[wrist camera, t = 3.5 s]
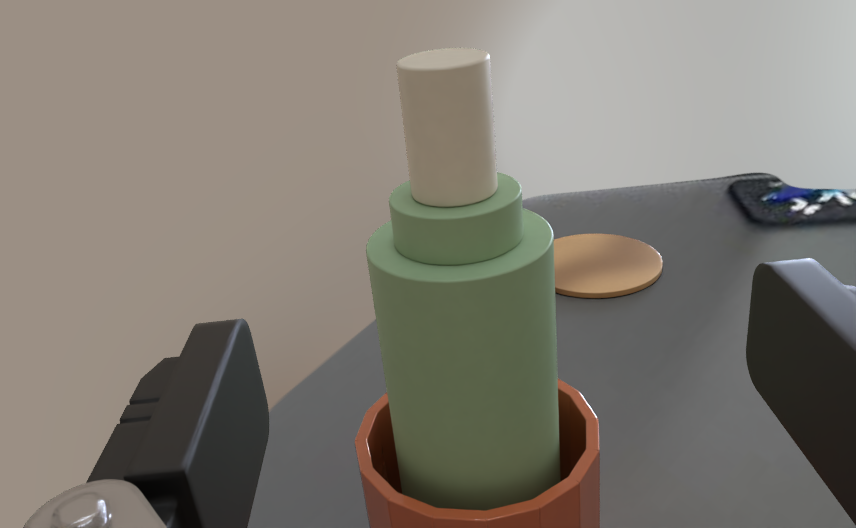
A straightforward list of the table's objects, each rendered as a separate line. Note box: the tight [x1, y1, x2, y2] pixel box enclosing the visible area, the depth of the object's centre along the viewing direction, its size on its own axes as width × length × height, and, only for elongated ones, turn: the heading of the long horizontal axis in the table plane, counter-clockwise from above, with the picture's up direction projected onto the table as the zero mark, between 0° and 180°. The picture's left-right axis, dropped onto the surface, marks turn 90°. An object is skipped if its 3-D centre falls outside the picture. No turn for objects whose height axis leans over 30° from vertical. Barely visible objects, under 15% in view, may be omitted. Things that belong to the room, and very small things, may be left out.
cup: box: [355, 379, 600, 528], centre depth 28 cm, size 8×8×7 cm
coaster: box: [554, 234, 663, 298], centre depth 52 cm, size 9×9×1 cm
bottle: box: [366, 48, 561, 510], centre depth 25 cm, size 6×6×20 cm
